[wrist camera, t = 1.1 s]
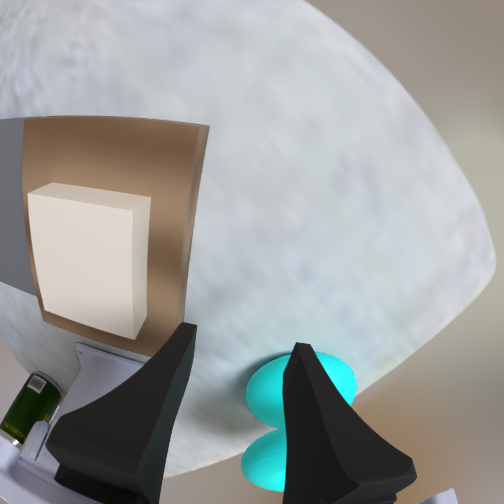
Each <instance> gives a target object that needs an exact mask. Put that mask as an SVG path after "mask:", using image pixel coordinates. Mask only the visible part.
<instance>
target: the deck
mask: <svg viewBox="0 0 504 504" xmlns="http://www.w3.org/2000/svg"><path fill="white" fill-rule="evenodd" d="M209 127H210V126H207V125H200V124H193V123H185V122H177V121H168V120H158V119H146V118H133V117H115V116H47V117H38V118H30V119H24V129H23V146H22V190H23V207H24V219H25V229H26V237H27V245H28V251H29V258H30V264H31V269H32V274H33V279H34V284H35V289H36V293H37V297H38V301H39V305H40V309H41V313H42V317H43V320H44V321H45V322H47V323H49V324H52V325H54V326H57V327H60V328H62V329H65V330H67V331H70V332H73V333H76V334H78V335H81V336H84V337H87V338H90V339H93V340H96V341H99V342H102V343H105V344H108V345H111V346H114V347H117V348H121V349H124V350H128V351H131V352H134V353H138V354H142V355H145V356H149V357H153V356H154V355H155V354H156V352H157V351H158V350H159V349H160V348H161V347H162V346H163V345H164V344H165V342H166V341H167V340H168V339H169V338H170V336H171V335H172V334H173V333H174V331H175V330H176V328H177V327H178V325H179V324H180V323H182V322H184V310H185V299H186V289H187V279H188V269H189V260H190V252H191V243H192V235H193V227H194V220H195V213H196V206H197V199H198V192H199V186H200V179H201V173H202V167H203V161H204V155H205V149H206V144H207V138H208V133H209ZM50 183H59V184H67V185H74V186H81V187H88V188H95V189H102V190H109V191H115V192H121V193H128V194H134V195H140V196H146V197H151V205H150V218H149V233H148V254H147V317H146V319H145V321H144V323H143V325H142V327H141V329H140V331H139V333H138V335H137V337H136V339H135V340H133V339H129V338H126V337H123V336H119V335H116V334H112V333H109V332H106V331H103V330H100V329H96V328H93V327H90V326H87V325H84V324H81V323H79V322H76V321H73V320H70V319H67V318H64V317H62V316H59V315H56V314H54V313H51V312H49V311H46V310H45V309H44V305H43V300H42V296H41V292H40V287H39V282H38V277H37V272H36V266H35V261H34V254H33V247H32V240H31V231H30V222H29V210H28V193H29V192H32V191H34V190H36V189H38V188H40V187H43V186H45V185H47V184H50Z"/></svg>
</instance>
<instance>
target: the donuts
mask: <svg viewBox="0 0 504 504" xmlns="http://www.w3.org/2000/svg"><path fill="white" fill-rule="evenodd" d="M315 354H316V355H317V357H318V359H319V361H320V362H321V364H322V366H323V367H324V369H325V371H326V372H327V374H328V376H329V377H330V379H331V380H332V382H333V383H334V385H335V386H336V388H337V389H338V391H339V392H340V394H341V395H342V396H343V398H344V399H345V400H346V402H347V403H348V404H349V405H351V403H352V402H353V400H354V398H355V394H356V391H357V381H356V377H355V374H354V372H353V371H352V369H351V368H350V367H349V366H348V365H347V364H346V363H345V362H343V361H342V360H340V359H338V358H336V357H334V356H331V355H328V354H323V353H315ZM290 356H291V354H290V355H286V356H283V357H279V358H277V359H275V360H272V361H270V362H268V363H267V364H265V365H263V366H262V367H261V368H260V369H258V370H257V371H256V372H255V373H254V375H253V376H252V377H251V378H250V380H249V382H248V384H247V387H246V393H245V398H246V403H247V406H248V408H249V410H250V411H251V413H252V414H253V415H254V416H255V417H256V418H257V419H258V420H260V421H261V422H263V423H265V424H267V425H269V426H271V427H274V428H278V430H275V431H272V432H270V433H268V434H266V435H264V436H262V437H260V438H259V439H257V440H256V441H254V442H253V443H252V444H251V445H250V446H249V447H248V448H247V449H246V451H245V452H244V454H243V457H242V460H241V468H242V472H243V474H244V475H245V477H246V478H247V479H248V480H249V481H250V482H251V483H253V484H255V485H256V486H259V487H261V488H264V489H268V490H273V491H281V492H284V485H285V472H286V450H287V442H286V429H285V418H284V408H283V397H282V385H283V372H284V370H285V368H286V365H287V363H288V361H289V358H290Z"/></svg>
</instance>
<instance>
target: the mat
mask: <svg viewBox="0 0 504 504" xmlns="http://www.w3.org/2000/svg"><path fill="white" fill-rule="evenodd" d="M30 118H38V117H26V118H13V119H3V120H0V281H1V282H3V283H6V284H8V285H10V286H13V287H15V288H18V289H20V290H22V291H25V292H27V293H30V294H32V295H35V296H37V293H36V289H35V284H34V279H33V274H32V269H31V264H30V258H29V251H28V245H27V237H26V229H25V219H24V207H23V190H22V146H23V129H24V119H30Z"/></svg>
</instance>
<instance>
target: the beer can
mask: <svg viewBox="0 0 504 504" xmlns="http://www.w3.org/2000/svg"><path fill="white" fill-rule="evenodd" d="M61 399H62V390H61V388H60V387H59V385H58V384H57V383H56V382H55V381H54V380H53V379H52V378H50V377H49V376H48V375H46V374H44V373H42V372H39V371H36V372H34V373H32V374H31V375H30V377H29V378H28V380H27V381H26V383H25V384H24V386H23V387H22V389H21V391H20V392H19V394H18V395H17V397H16V399H15V400H14V402H13V403H12V405H11V407H10V408H9V410H8V412H7V414H6V415H5V417H4V419H3V421H2V422H1V424H0V434H1V435H2V436H4V437H5V438H6V439H8V440H9V441H11V442H12V443H13V444H14V445H15V446H17V447H18V449H19V450H20V451H21V448H22V446H23V444H24V442H25V440H26V438H27V436H28V435H29V433H30V431H31V429H32V427H33V426H34V424H35V423H36V422H37V421H42V420H44V421H46V422H47V423H48V424H49V422H50V420H51V418H52V416H53V414H54V412H55V410H56V408H57V406H58V405H59V403H60V401H61Z"/></svg>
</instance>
